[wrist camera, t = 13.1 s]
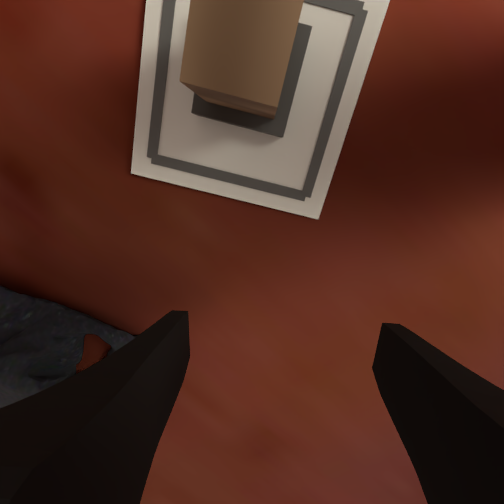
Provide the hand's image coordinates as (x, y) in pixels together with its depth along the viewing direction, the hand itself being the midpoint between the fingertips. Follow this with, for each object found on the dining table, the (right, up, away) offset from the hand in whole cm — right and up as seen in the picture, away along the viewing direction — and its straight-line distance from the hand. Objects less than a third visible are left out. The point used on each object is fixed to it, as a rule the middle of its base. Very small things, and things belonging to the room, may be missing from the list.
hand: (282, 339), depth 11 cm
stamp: (-1, +13, +5) cm, 14 cm away
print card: (-1, +12, +6) cm, 14 cm away
